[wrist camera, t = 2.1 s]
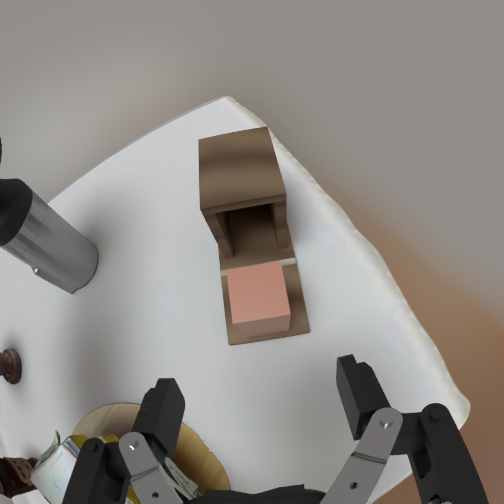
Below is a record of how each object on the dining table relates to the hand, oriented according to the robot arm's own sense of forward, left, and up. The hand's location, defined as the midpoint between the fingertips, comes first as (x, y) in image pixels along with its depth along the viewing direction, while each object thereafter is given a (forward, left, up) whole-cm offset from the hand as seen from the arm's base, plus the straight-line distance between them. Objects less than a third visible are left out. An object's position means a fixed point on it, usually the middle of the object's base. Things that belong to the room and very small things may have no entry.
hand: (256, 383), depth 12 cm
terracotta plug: (+5, +5, -20) cm, 21 cm away
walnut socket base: (+10, +10, -21) cm, 26 cm away
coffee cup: (-48, +18, -21) cm, 55 cm away
